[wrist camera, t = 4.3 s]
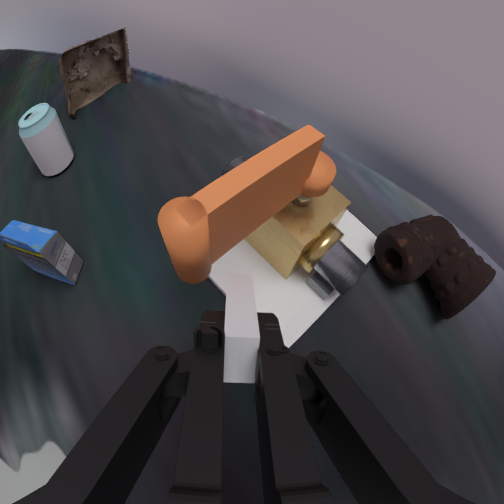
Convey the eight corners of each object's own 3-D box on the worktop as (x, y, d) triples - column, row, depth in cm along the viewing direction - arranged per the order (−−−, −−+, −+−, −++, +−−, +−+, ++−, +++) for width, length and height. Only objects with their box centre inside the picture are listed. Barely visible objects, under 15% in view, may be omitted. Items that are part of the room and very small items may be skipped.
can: (42, 184, 40) (12, 136, 29) (43, 158, 42) (18, 112, 31) (76, 168, 41) (50, 116, 31) (74, 143, 44) (53, 94, 33)
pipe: (389, 212, 32) (465, 314, 25) (444, 188, 37) (504, 264, 30) (359, 257, 40) (418, 344, 33) (416, 227, 45) (467, 295, 38)
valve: (359, 272, 37) (403, 228, 26) (321, 314, 34) (362, 281, 23) (253, 176, 42) (262, 114, 31) (210, 205, 39) (207, 143, 29)
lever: (305, 155, 28) (322, 101, 22) (338, 182, 27) (364, 130, 21) (162, 257, 22) (141, 207, 16) (197, 299, 21) (186, 260, 15)
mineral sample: (74, 120, 47) (53, 61, 33) (67, 115, 48) (46, 59, 34) (136, 80, 54) (127, 23, 40) (126, 76, 54) (117, 22, 41)
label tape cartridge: (85, 260, 35) (42, 210, 24) (75, 286, 33) (26, 244, 22) (41, 247, 35) (-3, 200, 24) (31, 270, 33) (-18, 229, 22)
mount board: (380, 246, 40) (383, 243, 39) (281, 354, 32) (283, 353, 31) (273, 154, 46) (274, 149, 45) (163, 227, 38) (162, 223, 37)
